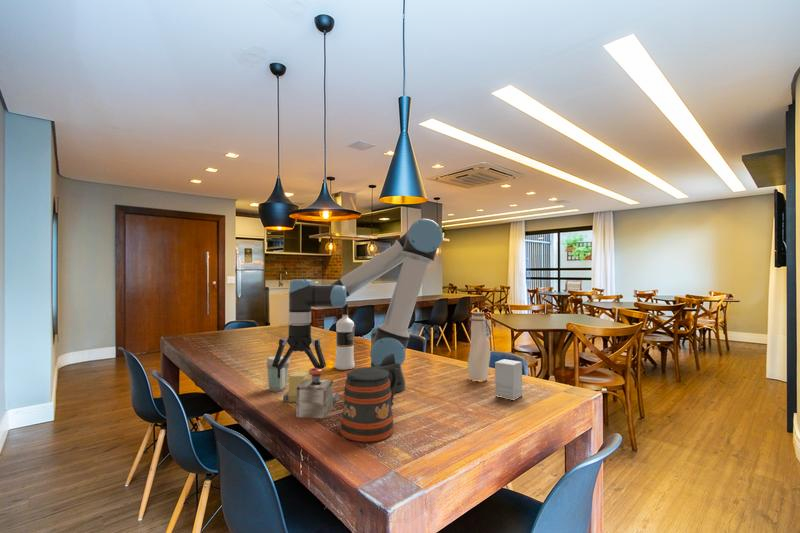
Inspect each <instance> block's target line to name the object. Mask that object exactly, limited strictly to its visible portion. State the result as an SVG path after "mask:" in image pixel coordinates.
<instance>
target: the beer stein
mask: <svg viewBox="0 0 800 533" xmlns="http://www.w3.org/2000/svg"><path fill="white" fill-rule="evenodd" d="M396 368H400V364H399V363H395V356H394V354H390V355H388V356H386V357H385V358H384V359H383V361H382V363H381V364H379V365H375V366H374V367H371V366H367V367H366V366H365V367H358V368H354V369H353V370H352V369H351V371H349V372H347V374H346V375H347V376H346V380H345V381H344V391H343V398H344V400H343V409H342V413H341V417H340V418H341V420H340V429H339V431H340V434H341V435H342V437H343V438H344V439H347V440H348V441H352V442H359V443H372V442H374V443H375V442H379V441H384V440H386V439H388V438H389V437H390V436H391V435H392V434H393V433H394V426H395V425H394V414H393V411H392V407H393V405H394V402H393V400H394V397H395V394H396V393H395V391H396V388H397V382H398V376H397V371H396ZM388 371H390V372H391V373H392V382H391V384H390V379H389V377H388V376H389V372H388Z"/></svg>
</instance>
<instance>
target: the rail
mask: <svg viewBox="0 0 800 533" xmlns="http://www.w3.org/2000/svg"><path fill="white" fill-rule="evenodd" d="M339 399H340V392H336V393H333V404H337V403H338V401H339ZM282 402H283V403H286V402H290V401H289V390H288V391H287V392H285V394H284V395H283V396H282Z"/></svg>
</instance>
